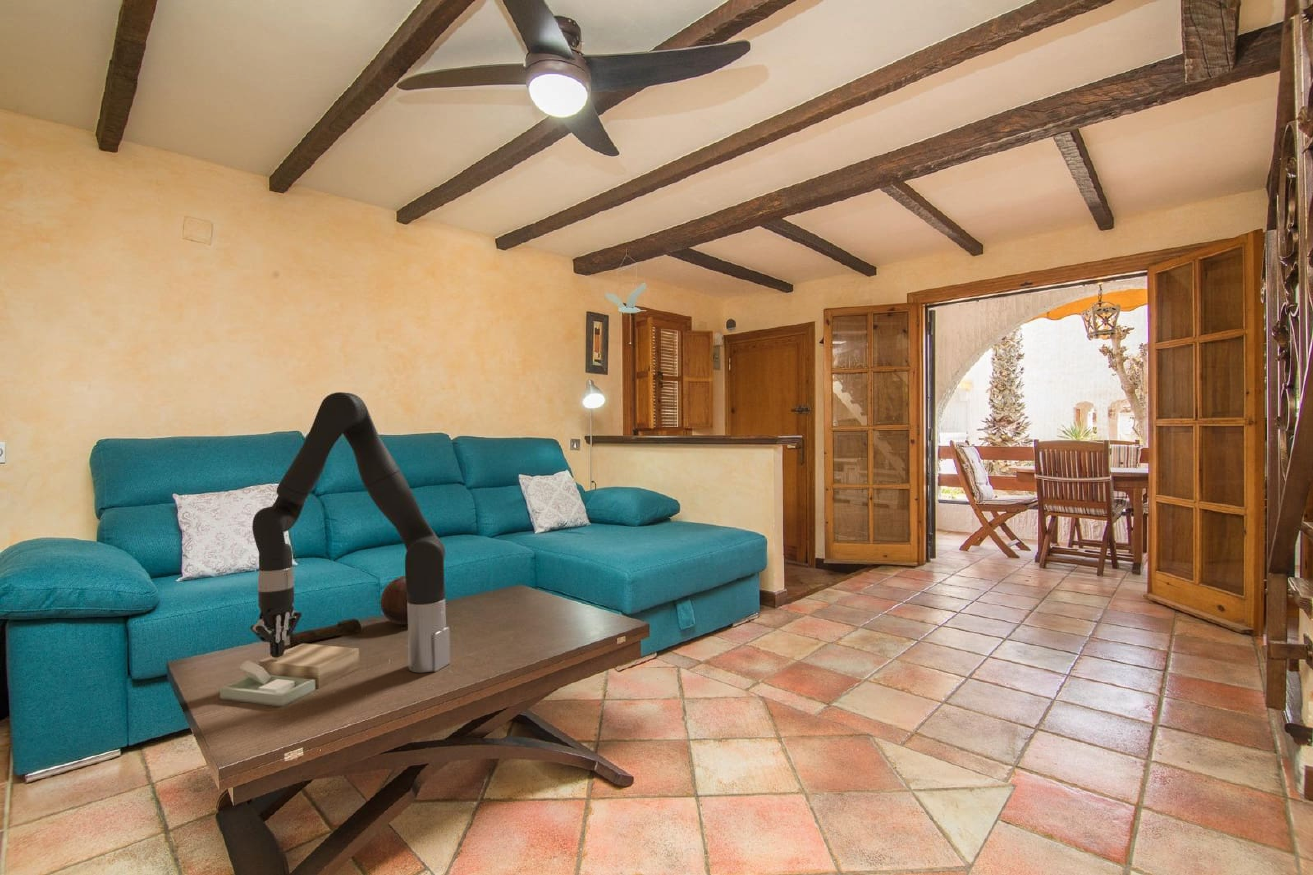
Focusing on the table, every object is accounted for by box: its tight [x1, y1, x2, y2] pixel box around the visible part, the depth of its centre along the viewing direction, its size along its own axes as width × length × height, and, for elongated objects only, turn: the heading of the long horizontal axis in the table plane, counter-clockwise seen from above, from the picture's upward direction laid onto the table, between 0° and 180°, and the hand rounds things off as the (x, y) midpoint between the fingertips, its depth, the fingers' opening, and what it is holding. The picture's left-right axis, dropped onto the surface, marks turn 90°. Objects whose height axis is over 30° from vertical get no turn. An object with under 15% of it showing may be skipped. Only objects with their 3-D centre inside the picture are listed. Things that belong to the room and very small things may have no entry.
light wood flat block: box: [258, 643, 360, 689], centre depth 153 cm, size 18×13×5 cm
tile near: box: [259, 679, 295, 693], centre depth 141 cm, size 5×5×2 cm
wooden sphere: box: [380, 575, 408, 625], centre depth 194 cm, size 15×15×15 cm
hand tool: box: [289, 618, 362, 648], centre depth 180 cm, size 19×4×5 cm, turn 128°
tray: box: [219, 675, 316, 708], centre depth 141 cm, size 18×9×2 cm, turn 74°
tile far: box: [239, 659, 271, 685], centre depth 144 cm, size 5×5×2 cm
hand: (277, 656), depth 150 cm, fingers closed
